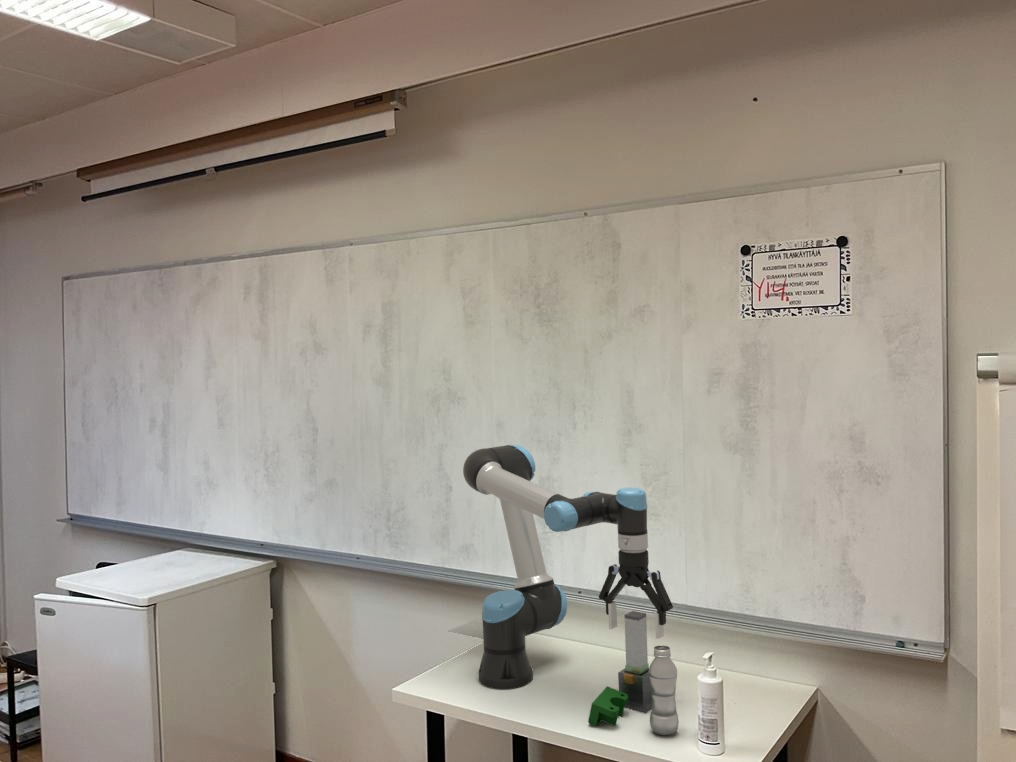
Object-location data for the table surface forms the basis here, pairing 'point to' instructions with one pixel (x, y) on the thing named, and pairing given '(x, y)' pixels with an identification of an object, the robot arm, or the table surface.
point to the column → (636, 643)
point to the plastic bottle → (663, 692)
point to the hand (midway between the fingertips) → (635, 632)
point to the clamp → (607, 706)
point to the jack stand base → (636, 690)
